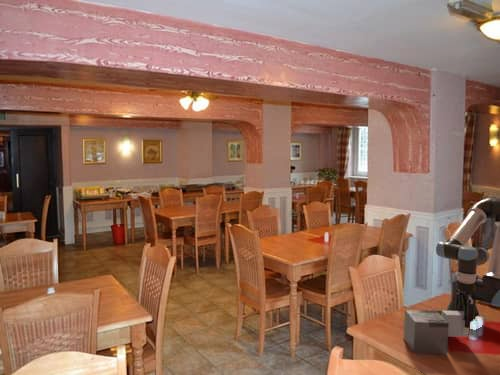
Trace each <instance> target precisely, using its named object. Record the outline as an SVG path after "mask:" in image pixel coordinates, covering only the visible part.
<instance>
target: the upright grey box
mask: <svg viewBox="0 0 500 375" xmlns="http://www.w3.org/2000/svg"><path fill="white" fill-rule="evenodd" d="M441 310H442V309H441ZM442 317H443V318H444V319H445V320H446V321H447V322H448V323H449V327H448V337H452V338H454V337H456V338H468V337H469V334H462V325H463V320H462V319H464V311H447V310H446V309H445V310H442Z"/></svg>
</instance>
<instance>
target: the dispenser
mask: <svg viewBox="0 0 500 375" xmlns="http://www.w3.org/2000/svg"><path fill="white" fill-rule="evenodd" d="M448 327H449V323H448V322H447V321H446V320H445V319H444V318H443V317H442V316H441V315H440V314H439V313H438V312H437V310H428V309H427V310H425V309H423V310H422V309H405V310H404V327H403V341H404V342H405V343H406V345H407V346H408V348H409V349H410V350H411V352H412V353H413V354H420V355H421V354H422V355H427V354H428V355H448V354H447V353H448V341H449V336H448Z"/></svg>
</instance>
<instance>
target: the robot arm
mask: <svg viewBox="0 0 500 375" xmlns="http://www.w3.org/2000/svg"><path fill="white" fill-rule="evenodd" d="M487 220H488V221H489V220H492V221H494V224H495V226H496V230H495V234H494V238H493V239H494V240H493V243H492V248H491V253H490V252H489V250H487V249H486V248H484V247H473V246H467V243H468V242H469V240H470V239H471V237H472V236H474V233H476V231H477V230H478V228H479V227H480V226H481V224H484V223H485V222H486V221H487ZM435 247H436V248H435V253H436V255H437V256H438V257H440V258H444V259H448V260H453V261H457V268H456V270H457V271H456V272H454V273H453V275H452V280H451V297H450V301H449V303H448V306H447V307H446V311H464V319H462V320H463V325H462V334H468V335H470V324H471V322H474V321H473V319H475V317H476V316H479V317H480V312H479V309H478V306H477V302H482V303H484V304H488V305H491V306H493V307H494V306H495V307H499V308H500V198H499V197H498V198H496V197H487V198H484V199H481V200H479V201H478V202H476V203H474V204H473V205H472V206H470V208H469V209H468V210H467V215H466V216H465V217H464V218H463V220H462V221H461V223H460V224H459V225H458V226H457V228H455V230H454V232H453V233H452V234H451V235H450V237H449V238H448V239H447V240H446V242H445V241H439V242H438V243H437V244H436V246H435ZM488 261H489V263H488V268H487V272H485V273H483V274H482V277H479V274H478V272H477V267H478V266H483V265H484V264H486V263H487V262H488Z"/></svg>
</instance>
